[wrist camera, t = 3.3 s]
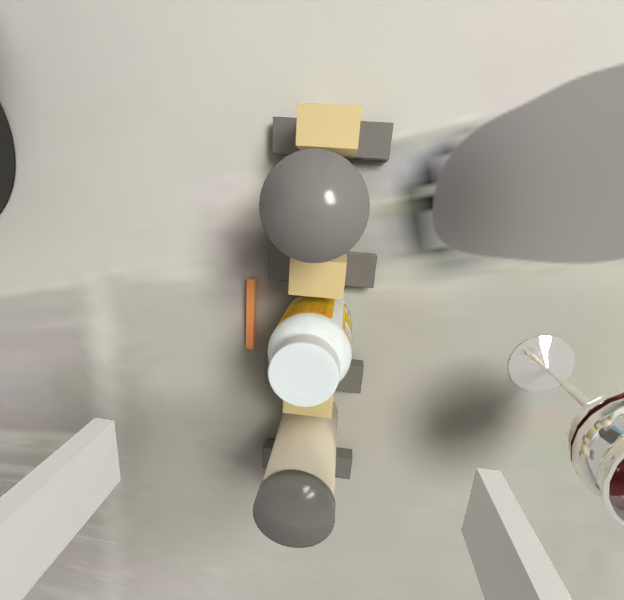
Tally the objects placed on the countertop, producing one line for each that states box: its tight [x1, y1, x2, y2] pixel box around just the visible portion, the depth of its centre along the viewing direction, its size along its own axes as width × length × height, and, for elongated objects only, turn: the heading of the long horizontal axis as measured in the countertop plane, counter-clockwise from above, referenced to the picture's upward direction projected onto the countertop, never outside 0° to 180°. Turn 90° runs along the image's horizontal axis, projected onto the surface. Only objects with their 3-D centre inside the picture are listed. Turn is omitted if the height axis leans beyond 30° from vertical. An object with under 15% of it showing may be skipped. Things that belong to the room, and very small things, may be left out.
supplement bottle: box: [268, 295, 352, 407], centre depth 23 cm, size 5×5×10 cm
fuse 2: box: [253, 401, 338, 548], centre depth 25 cm, size 5×5×10 cm
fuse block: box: [246, 103, 393, 479], centre depth 26 cm, size 10×29×5 cm, turn 176°
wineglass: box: [508, 335, 624, 527], centre depth 21 cm, size 7×7×12 cm
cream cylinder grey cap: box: [259, 149, 370, 263], centre depth 20 cm, size 5×5×10 cm
